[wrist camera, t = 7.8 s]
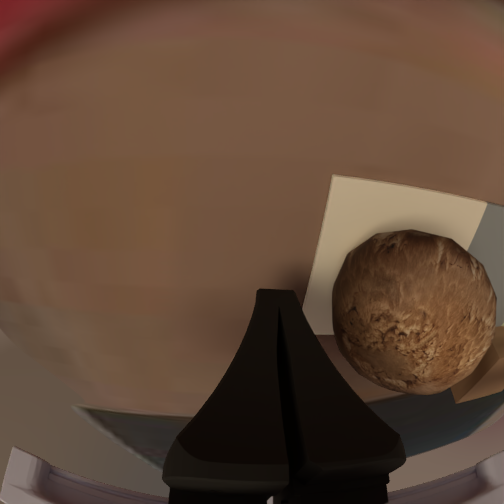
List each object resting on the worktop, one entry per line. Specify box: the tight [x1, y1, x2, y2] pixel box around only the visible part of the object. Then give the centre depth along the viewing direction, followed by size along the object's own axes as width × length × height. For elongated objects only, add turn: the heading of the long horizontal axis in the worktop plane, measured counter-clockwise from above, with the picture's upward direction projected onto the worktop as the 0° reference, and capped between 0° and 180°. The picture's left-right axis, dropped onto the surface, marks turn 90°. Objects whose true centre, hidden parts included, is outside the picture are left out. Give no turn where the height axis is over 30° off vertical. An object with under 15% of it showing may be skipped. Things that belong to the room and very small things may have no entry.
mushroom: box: [332, 229, 497, 395], centre depth 12 cm, size 8×8×6 cm
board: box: [302, 174, 504, 335], centre depth 14 cm, size 9×24×1 cm, turn 86°
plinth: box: [450, 326, 504, 403], centre depth 18 cm, size 6×6×3 cm
